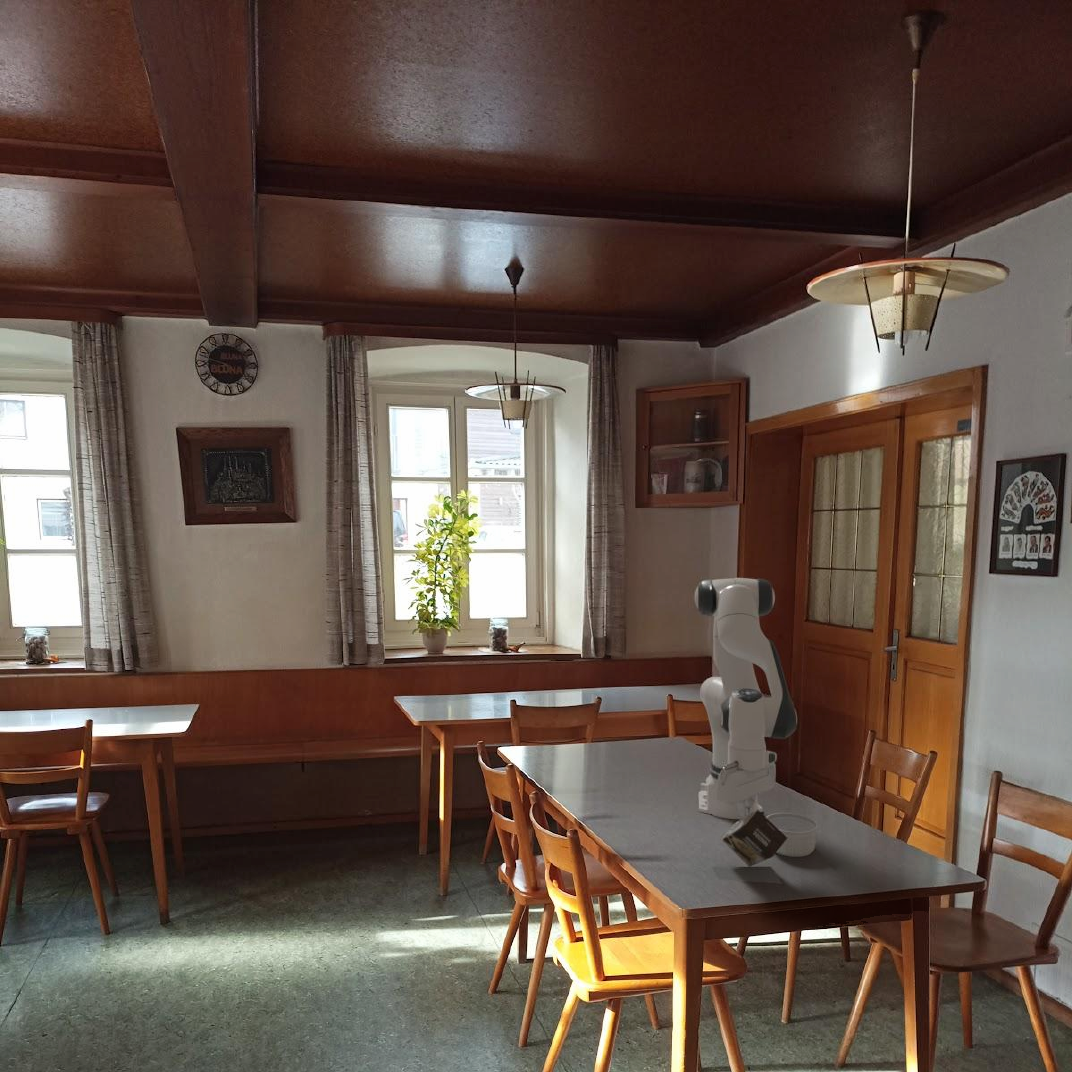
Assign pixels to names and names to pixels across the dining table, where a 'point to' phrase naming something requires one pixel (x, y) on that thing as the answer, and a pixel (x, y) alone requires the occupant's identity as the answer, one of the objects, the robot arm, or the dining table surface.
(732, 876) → the mat
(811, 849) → the ramekin
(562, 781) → the dining table surface
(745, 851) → the dark cardboard box
